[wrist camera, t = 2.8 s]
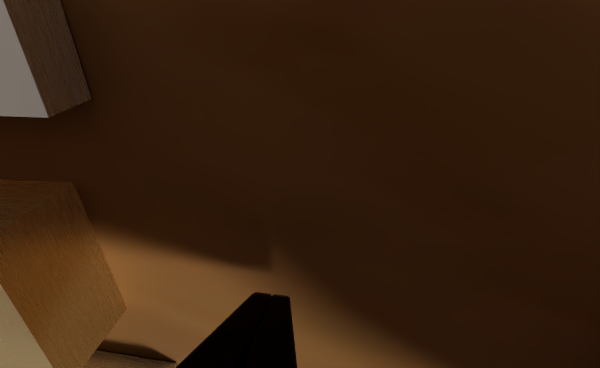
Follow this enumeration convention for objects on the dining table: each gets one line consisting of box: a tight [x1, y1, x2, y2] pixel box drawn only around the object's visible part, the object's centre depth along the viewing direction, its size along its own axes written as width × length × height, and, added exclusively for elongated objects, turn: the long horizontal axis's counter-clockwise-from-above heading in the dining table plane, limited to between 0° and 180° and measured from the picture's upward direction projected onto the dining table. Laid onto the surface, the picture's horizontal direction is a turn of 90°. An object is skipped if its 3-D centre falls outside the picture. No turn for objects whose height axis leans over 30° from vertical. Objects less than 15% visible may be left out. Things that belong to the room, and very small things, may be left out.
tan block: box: [0, 180, 127, 368], centre depth 10 cm, size 4×4×3 cm
